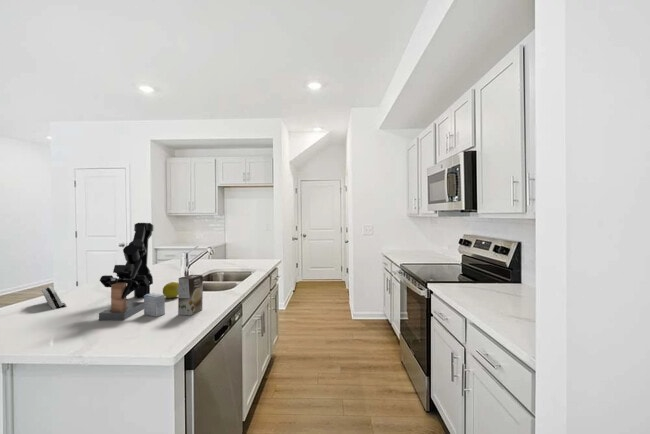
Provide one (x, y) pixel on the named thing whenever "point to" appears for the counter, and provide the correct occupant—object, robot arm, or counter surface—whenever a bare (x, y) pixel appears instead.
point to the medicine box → (154, 304)
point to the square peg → (118, 297)
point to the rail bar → (122, 312)
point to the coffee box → (190, 294)
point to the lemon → (171, 290)
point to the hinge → (52, 297)
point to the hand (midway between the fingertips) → (116, 298)
